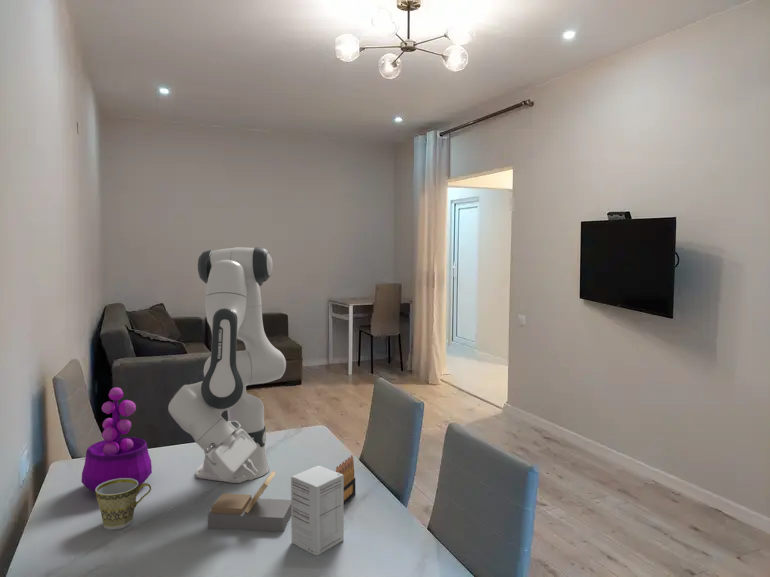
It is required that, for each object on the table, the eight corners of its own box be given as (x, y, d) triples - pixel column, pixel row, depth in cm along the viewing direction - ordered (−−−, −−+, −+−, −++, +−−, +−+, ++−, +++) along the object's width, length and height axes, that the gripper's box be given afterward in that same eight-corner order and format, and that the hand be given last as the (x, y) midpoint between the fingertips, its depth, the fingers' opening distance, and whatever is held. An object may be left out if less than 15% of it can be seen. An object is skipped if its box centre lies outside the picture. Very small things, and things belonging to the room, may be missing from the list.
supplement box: (318, 528, 141) (318, 464, 140) (344, 540, 135) (345, 473, 134) (289, 543, 134) (289, 475, 132) (316, 557, 128) (316, 486, 127)
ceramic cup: (96, 537, 135) (95, 497, 135) (96, 519, 144) (95, 482, 143) (153, 525, 141) (152, 487, 140) (150, 509, 150) (149, 473, 149)
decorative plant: (146, 469, 176) (144, 377, 174) (158, 491, 161) (156, 390, 159) (79, 482, 166) (76, 384, 164) (84, 507, 150) (82, 399, 148)
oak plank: (247, 513, 140) (244, 510, 140) (257, 499, 148) (253, 496, 148) (267, 485, 139) (264, 483, 140) (275, 473, 147) (272, 470, 147)
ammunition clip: (338, 510, 151) (338, 467, 150) (332, 509, 152) (332, 466, 151) (355, 494, 161) (356, 454, 160) (350, 493, 161) (350, 453, 161)
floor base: (208, 528, 140) (207, 509, 140) (222, 509, 150) (221, 491, 150) (283, 531, 139) (283, 512, 139) (292, 512, 149) (292, 494, 149)
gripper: (210, 443, 133) (250, 484, 132) (239, 419, 153) (274, 454, 153) (192, 461, 133) (232, 502, 133) (223, 434, 154) (258, 470, 153)
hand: (255, 476), depth 143 cm, fingers closed
